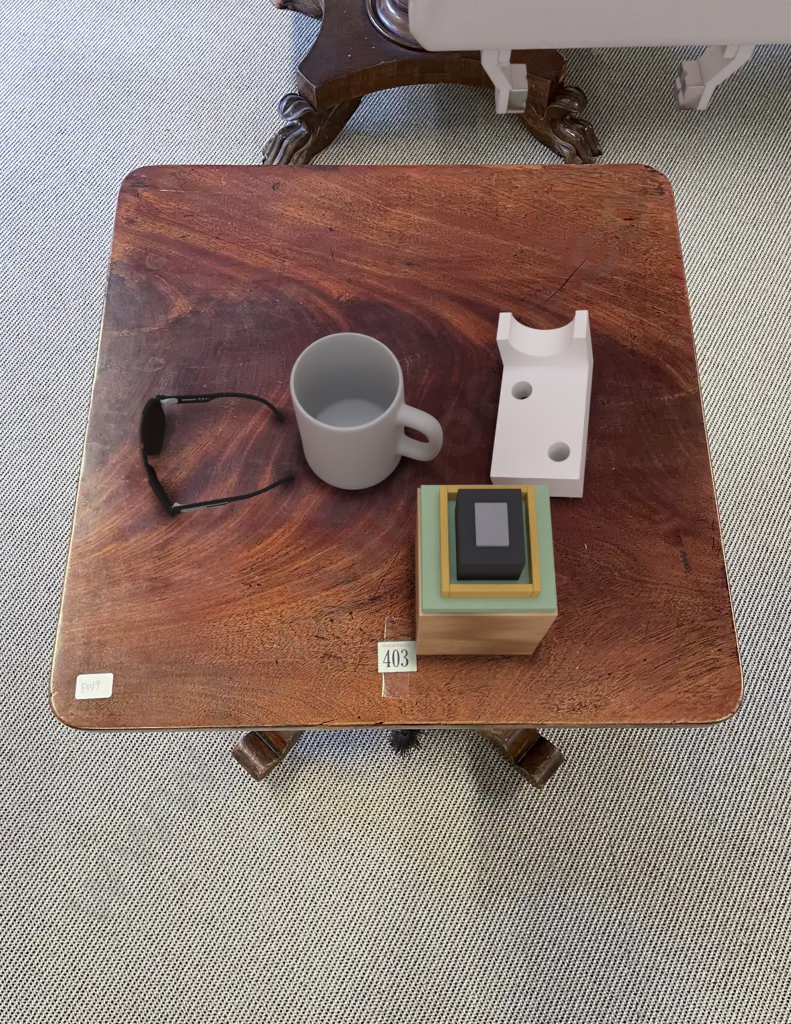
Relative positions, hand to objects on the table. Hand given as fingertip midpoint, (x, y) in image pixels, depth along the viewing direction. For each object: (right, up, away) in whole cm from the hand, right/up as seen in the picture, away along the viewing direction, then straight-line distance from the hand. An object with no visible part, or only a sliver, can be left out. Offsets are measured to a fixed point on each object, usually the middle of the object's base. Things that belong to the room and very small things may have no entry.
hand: (598, 103), depth 45 cm
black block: (-5, -24, +11) cm, 27 cm away
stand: (-5, -28, +23) cm, 37 cm away
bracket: (+1, -14, +29) cm, 32 cm away
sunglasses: (-25, -17, +28) cm, 41 cm away
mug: (-13, -17, +28) cm, 35 cm away
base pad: (-5, -24, +12) cm, 27 cm away
